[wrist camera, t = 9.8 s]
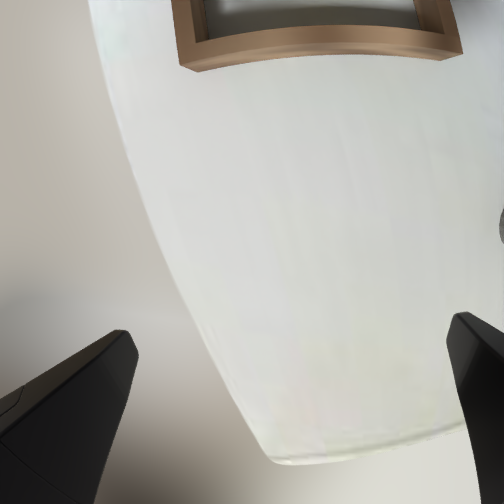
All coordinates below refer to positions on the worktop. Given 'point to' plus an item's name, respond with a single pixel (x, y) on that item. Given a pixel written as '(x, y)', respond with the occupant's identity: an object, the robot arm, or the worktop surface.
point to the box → (314, 38)
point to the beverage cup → (502, 227)
